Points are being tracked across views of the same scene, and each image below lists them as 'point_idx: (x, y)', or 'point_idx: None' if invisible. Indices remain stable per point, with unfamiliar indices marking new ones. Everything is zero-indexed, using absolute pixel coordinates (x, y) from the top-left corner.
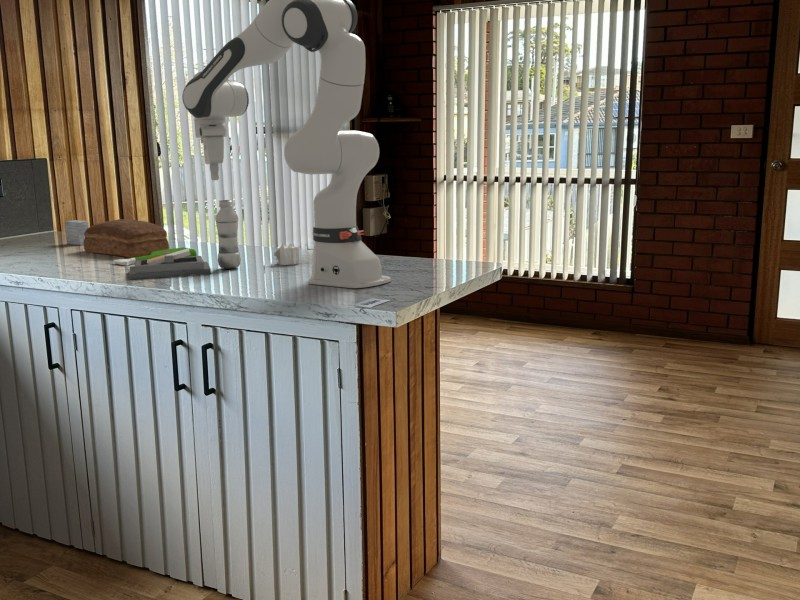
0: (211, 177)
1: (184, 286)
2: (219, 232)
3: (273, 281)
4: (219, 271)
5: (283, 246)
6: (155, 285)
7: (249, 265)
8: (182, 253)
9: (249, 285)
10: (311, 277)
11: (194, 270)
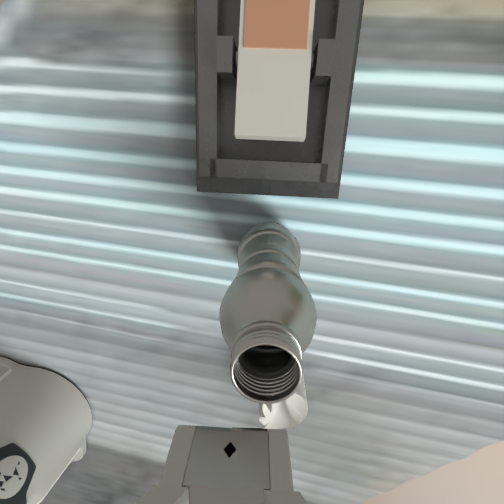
0: (276, 447)
1: (33, 99)
2: (251, 261)
3: (51, 304)
4: (235, 216)
5: (269, 404)
6: (68, 13)
7: None
8: (236, 108)
9: (14, 251)
10: (8, 370)
11: (197, 144)
